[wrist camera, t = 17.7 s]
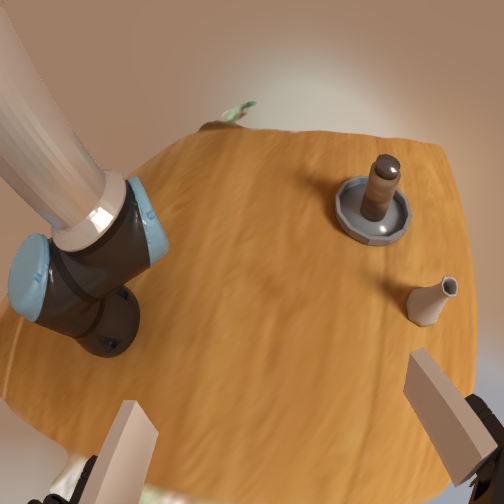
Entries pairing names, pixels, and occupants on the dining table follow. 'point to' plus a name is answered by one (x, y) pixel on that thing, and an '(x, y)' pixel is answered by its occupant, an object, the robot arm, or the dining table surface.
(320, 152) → the dining table surface
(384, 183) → the pepper mill
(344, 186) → the round grey tray
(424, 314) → the flask
